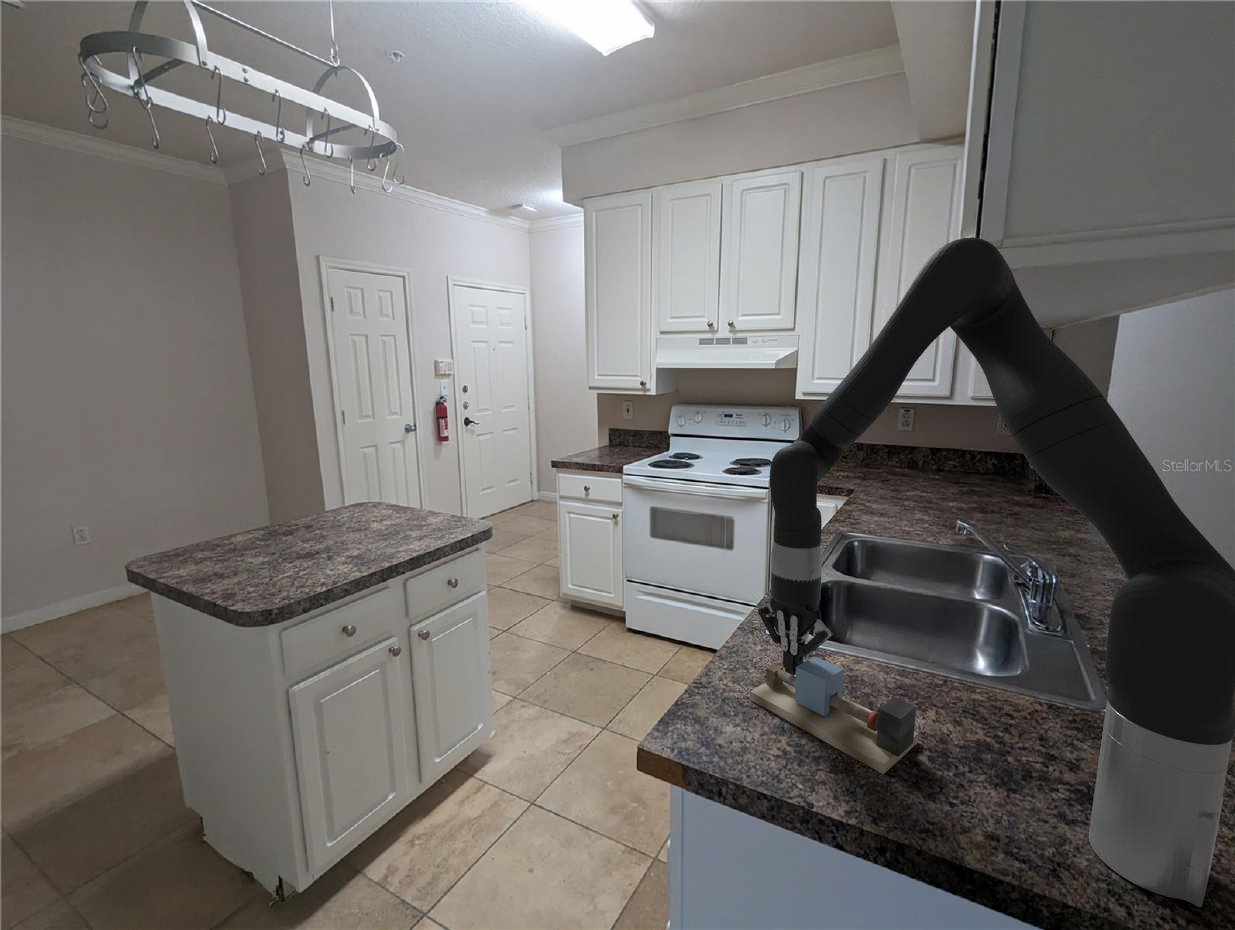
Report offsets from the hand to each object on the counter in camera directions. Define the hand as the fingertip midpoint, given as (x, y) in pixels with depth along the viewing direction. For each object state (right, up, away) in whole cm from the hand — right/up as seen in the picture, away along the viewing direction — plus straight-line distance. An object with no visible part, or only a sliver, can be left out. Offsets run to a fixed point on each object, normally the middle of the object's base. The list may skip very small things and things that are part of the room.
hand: (792, 672), depth 89 cm
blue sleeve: (+3, -4, -3) cm, 6 cm away
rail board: (+4, -6, -4) cm, 8 cm away
